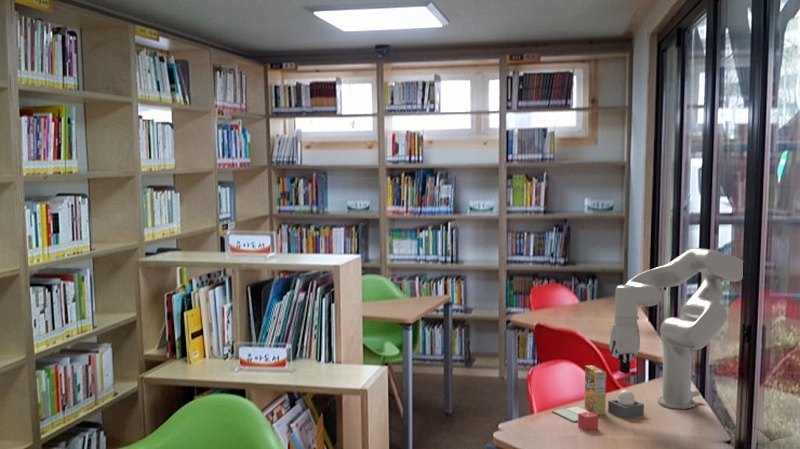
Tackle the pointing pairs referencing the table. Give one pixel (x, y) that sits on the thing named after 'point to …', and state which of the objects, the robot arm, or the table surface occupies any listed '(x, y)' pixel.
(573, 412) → the striped board
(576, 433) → the table surface
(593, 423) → the red die
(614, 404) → the housing
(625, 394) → the white round ball
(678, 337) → the robot arm
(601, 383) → the candy box
